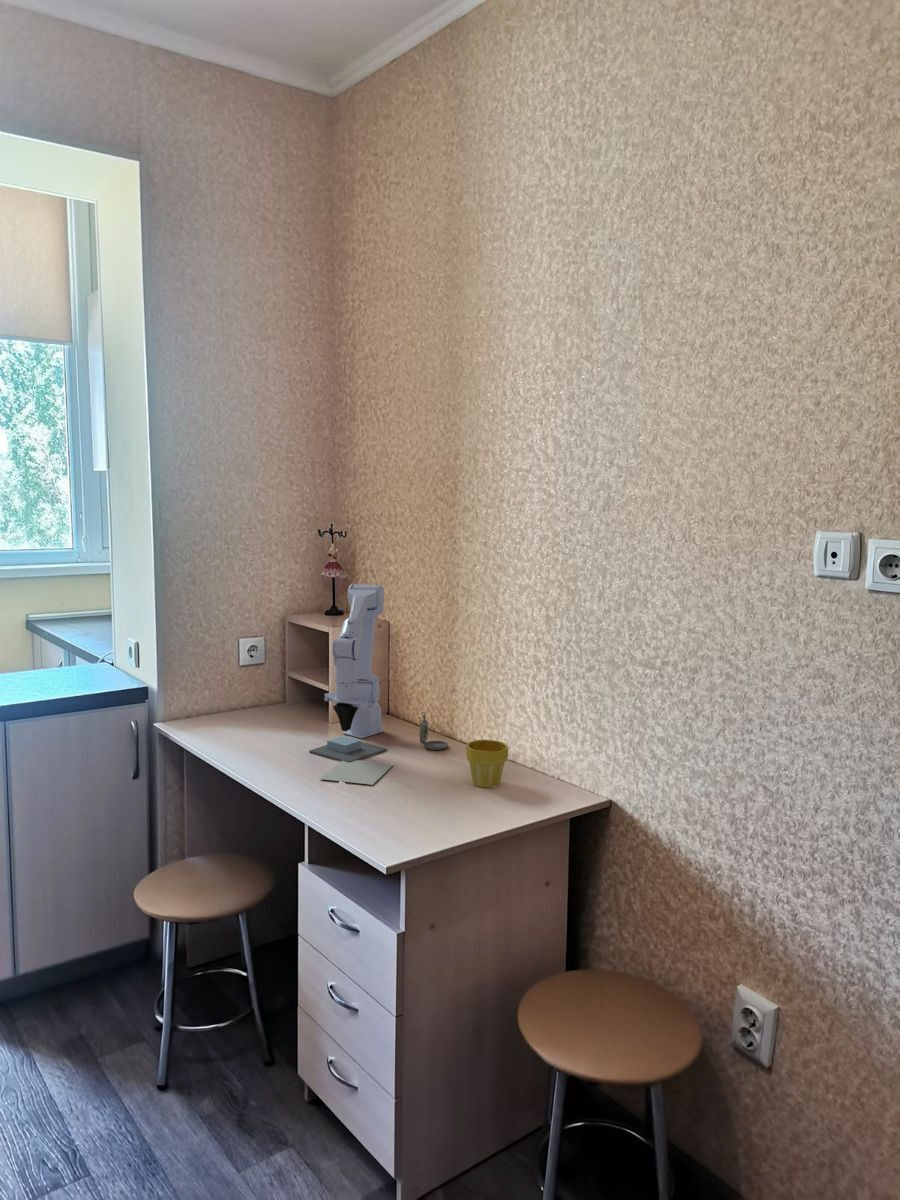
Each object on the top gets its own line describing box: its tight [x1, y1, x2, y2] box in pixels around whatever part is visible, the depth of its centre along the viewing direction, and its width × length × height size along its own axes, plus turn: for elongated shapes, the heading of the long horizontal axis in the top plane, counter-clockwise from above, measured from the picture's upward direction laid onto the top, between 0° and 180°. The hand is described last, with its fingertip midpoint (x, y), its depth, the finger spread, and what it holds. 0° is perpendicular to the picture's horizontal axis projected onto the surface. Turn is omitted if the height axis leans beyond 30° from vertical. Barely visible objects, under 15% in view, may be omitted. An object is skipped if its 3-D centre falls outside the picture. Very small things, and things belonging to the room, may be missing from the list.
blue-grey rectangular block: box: [326, 735, 362, 753], centre depth 238 cm, size 6×2×7 cm
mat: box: [308, 741, 388, 762], centre depth 237 cm, size 15×15×1 cm
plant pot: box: [465, 739, 509, 788], centre depth 213 cm, size 10×10×10 cm
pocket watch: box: [419, 711, 449, 751], centre depth 242 cm, size 8×8×10 cm
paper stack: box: [319, 760, 394, 786], centre depth 215 cm, size 23×25×1 cm
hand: (346, 730), depth 237 cm, fingers closed
